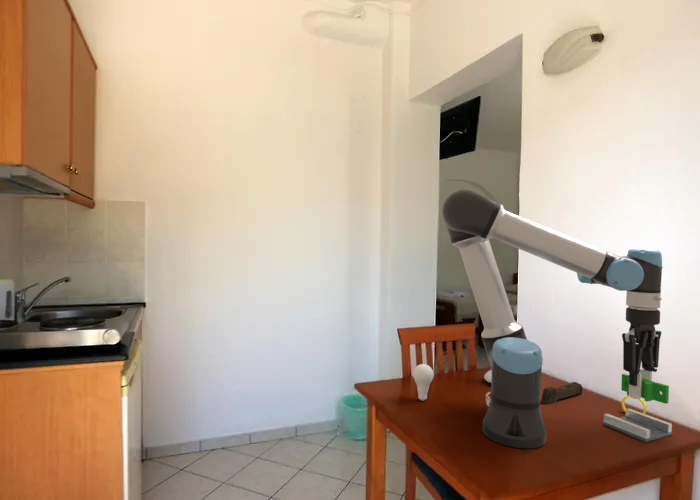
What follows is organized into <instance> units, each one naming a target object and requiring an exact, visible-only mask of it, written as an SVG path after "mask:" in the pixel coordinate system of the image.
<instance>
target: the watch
mask: <svg viewBox="0 0 700 500" xmlns="http://www.w3.org/2000/svg"><path fill="white" fill-rule="evenodd" d="M627 398H630V399H635V400H638V401H639V402H641V403H642V405H643V411H642V413H643V414H646V412H647V411H648V410H647V409H648V405H647V404H646V401H645V399H644V398H642V397H641V399H637V398H634V397H631V396H628V395H627V394H626V395H625V396H623V398H622V400H621V408H622V410H623V412H625V413H626V409H627V408H626V405H625V400H626V399H627Z"/></svg>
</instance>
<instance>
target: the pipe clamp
mask: <svg viewBox="0 0 700 500" xmlns="http://www.w3.org/2000/svg"><path fill="white" fill-rule="evenodd" d="M669 389H670V385H667V384H663V383H660V382H657V381H653V380H652V381H650V380H646V379H642V382H641V398H642V399H643V400H644V402H648V403H649V402H651V401H655V402H658V403H662V404H665V405H667V404H669V393H670V391H669ZM621 391H623V392H625V393H626V396H627V395H628V396H629V374H628V373H627V374H626V373H622V374H621Z"/></svg>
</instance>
